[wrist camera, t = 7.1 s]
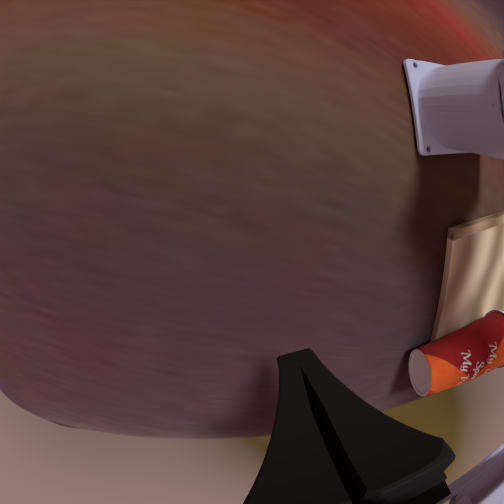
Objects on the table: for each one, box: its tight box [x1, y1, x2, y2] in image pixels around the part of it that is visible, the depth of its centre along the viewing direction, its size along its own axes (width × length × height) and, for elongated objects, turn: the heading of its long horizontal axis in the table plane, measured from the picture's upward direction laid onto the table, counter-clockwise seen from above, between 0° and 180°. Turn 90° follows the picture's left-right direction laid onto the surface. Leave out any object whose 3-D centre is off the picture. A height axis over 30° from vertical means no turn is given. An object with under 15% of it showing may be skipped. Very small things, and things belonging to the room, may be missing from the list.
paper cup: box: [409, 310, 504, 397], centre depth 23 cm, size 8×8×14 cm
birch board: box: [430, 211, 504, 342], centre depth 25 cm, size 16×18×1 cm
